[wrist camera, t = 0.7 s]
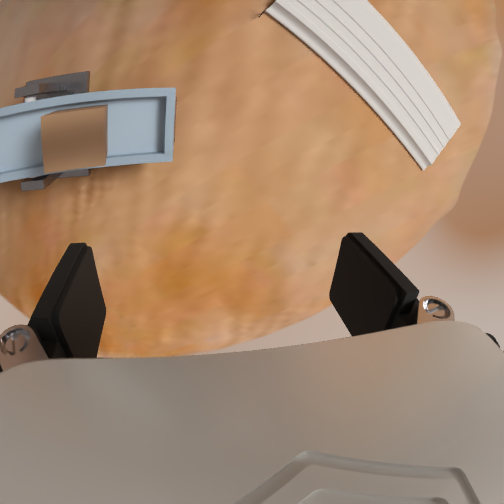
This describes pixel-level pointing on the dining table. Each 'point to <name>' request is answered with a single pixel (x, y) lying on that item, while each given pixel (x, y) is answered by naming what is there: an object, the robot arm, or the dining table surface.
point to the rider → (75, 138)
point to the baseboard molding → (375, 69)
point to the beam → (119, 129)
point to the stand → (50, 89)
